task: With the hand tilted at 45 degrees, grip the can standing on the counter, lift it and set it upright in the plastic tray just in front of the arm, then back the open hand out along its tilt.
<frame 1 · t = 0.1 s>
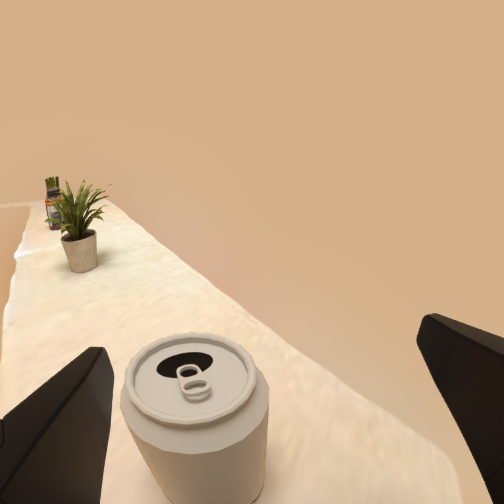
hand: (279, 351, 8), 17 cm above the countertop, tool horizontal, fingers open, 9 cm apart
supplement bottle: (59, 227, 76), on the countertop
can: (212, 479, 18), on the countertop
fennel bulb: (55, 207, 103), on the countertop
house plant: (85, 270, 51), on the countertop
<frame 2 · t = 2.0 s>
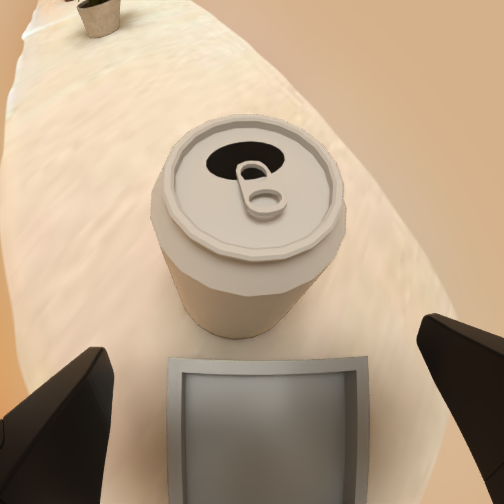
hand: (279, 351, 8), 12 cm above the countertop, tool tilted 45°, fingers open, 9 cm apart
can: (235, 286, 21), on the countertop
tray: (266, 450, 16), on the countertop
house plant: (105, 34, 35), on the countertop
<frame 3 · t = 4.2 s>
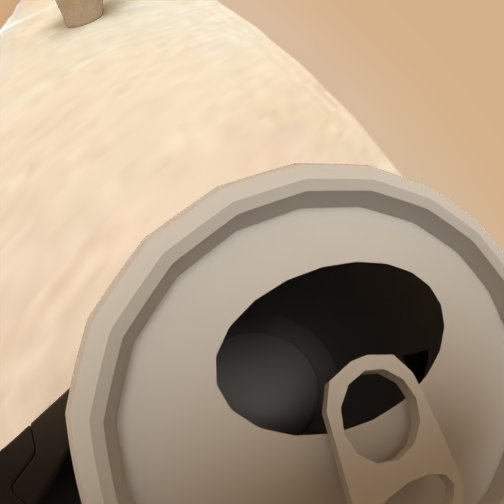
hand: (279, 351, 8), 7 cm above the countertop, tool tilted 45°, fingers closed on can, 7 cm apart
can: (255, 394, 13), on the countertop, touching gripper
house plant: (86, 22, 27), on the countertop
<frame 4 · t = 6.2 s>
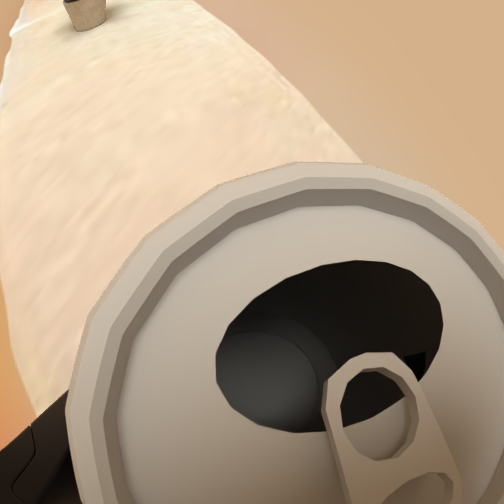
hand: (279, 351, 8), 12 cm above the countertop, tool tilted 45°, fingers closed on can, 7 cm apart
can: (255, 393, 13), point 5 cm above the countertop, touching gripper
house plant: (91, 27, 33), on the countertop
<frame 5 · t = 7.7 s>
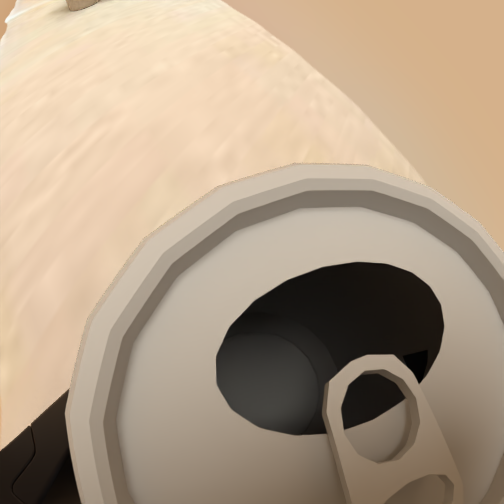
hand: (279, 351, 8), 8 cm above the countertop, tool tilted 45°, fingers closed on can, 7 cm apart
can: (255, 393, 13), point 1 cm above the countertop, touching gripper
house plant: (85, 6, 31), on the countertop
when the fingers open (8 cm above the countertop, at t = 8.6 s): can stays where it is, resting on tray.
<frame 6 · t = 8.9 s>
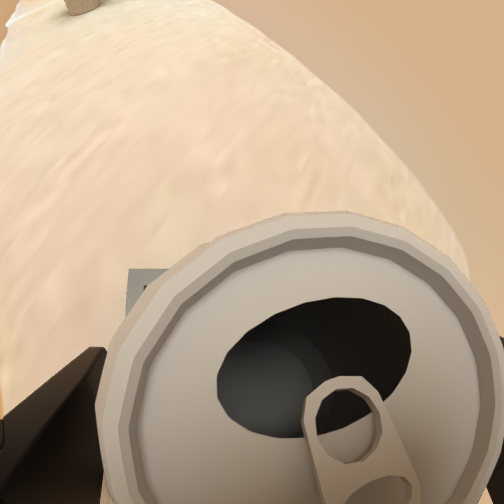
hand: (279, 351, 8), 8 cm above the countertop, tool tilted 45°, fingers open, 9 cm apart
can: (253, 396, 14), resting on tray
tray: (252, 393, 14), on the countertop
house plant: (86, 11, 32), on the countertop
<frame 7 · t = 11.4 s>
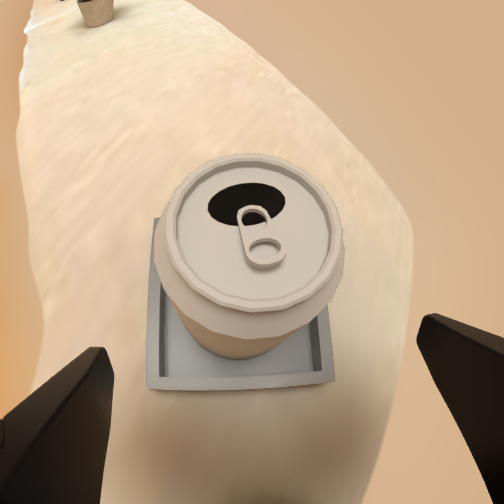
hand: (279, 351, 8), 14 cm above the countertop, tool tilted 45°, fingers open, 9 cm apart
can: (237, 307, 21), resting on tray
tray: (236, 306, 22), on the countertop
house plant: (101, 24, 39), on the countertop
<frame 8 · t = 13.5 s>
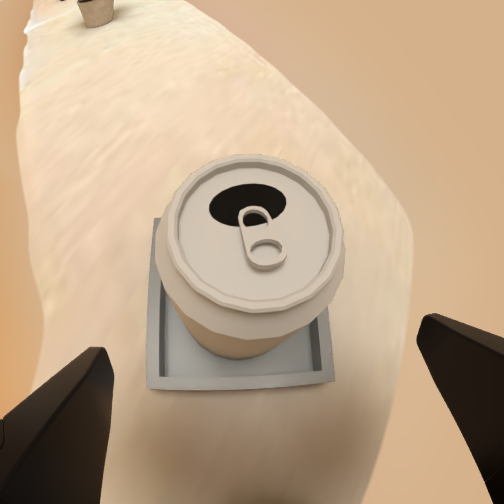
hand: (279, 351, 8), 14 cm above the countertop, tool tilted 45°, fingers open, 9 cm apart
can: (237, 307, 21), resting on tray
tray: (236, 306, 22), on the countertop
house plant: (101, 24, 39), on the countertop
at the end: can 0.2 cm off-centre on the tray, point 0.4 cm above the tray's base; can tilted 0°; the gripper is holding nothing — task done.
